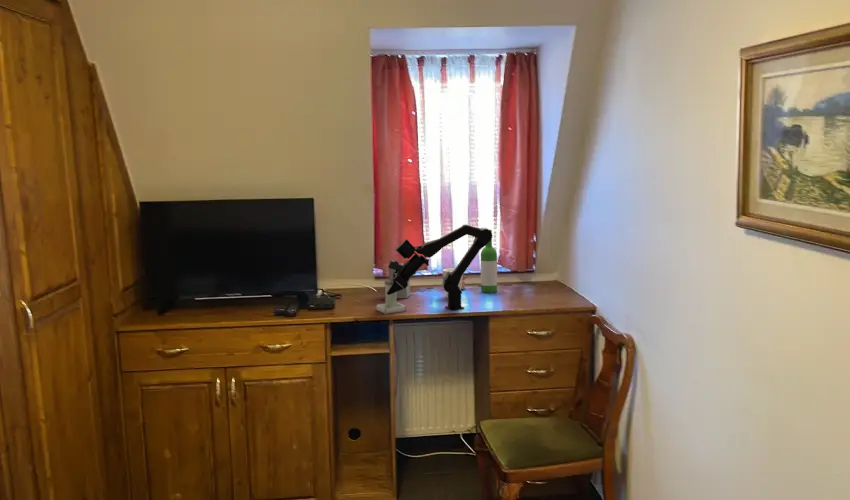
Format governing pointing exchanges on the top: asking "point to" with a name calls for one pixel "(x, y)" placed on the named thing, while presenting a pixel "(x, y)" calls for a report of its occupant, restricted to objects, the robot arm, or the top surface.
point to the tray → (385, 310)
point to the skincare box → (404, 292)
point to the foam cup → (450, 272)
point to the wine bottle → (489, 269)
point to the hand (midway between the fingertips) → (387, 292)
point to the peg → (390, 296)
